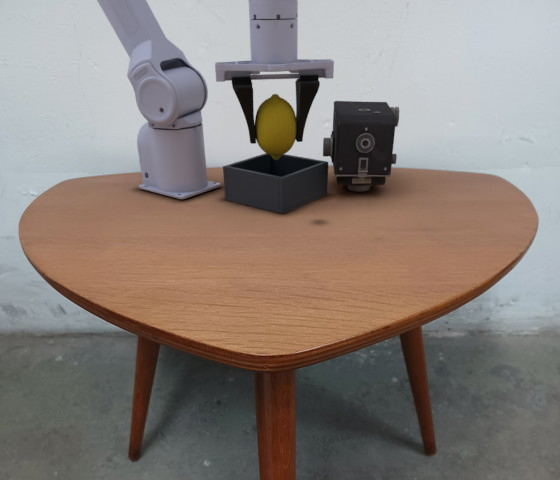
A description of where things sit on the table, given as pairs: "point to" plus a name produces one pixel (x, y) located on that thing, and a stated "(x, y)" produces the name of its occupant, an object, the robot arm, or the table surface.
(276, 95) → the lemon
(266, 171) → the bin
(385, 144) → the camera
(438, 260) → the table surface
